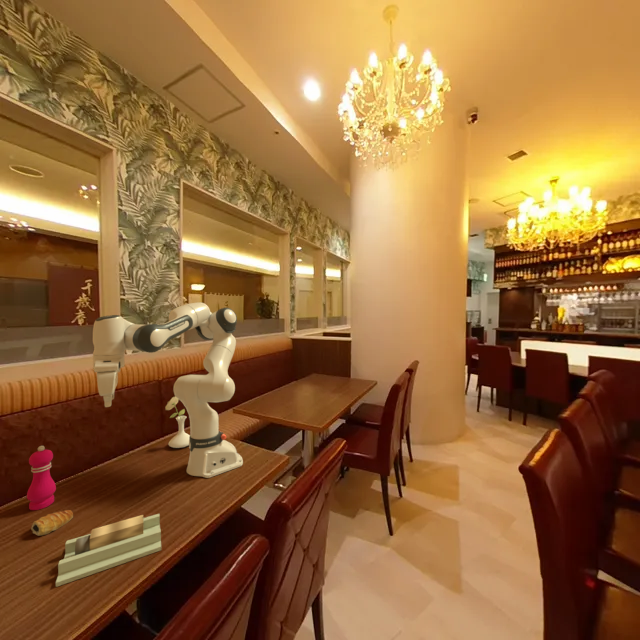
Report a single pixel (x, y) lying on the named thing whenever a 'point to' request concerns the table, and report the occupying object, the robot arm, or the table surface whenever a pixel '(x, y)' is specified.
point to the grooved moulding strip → (109, 553)
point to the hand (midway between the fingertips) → (109, 402)
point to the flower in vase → (181, 436)
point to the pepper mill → (41, 480)
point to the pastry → (51, 522)
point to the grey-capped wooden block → (110, 534)
